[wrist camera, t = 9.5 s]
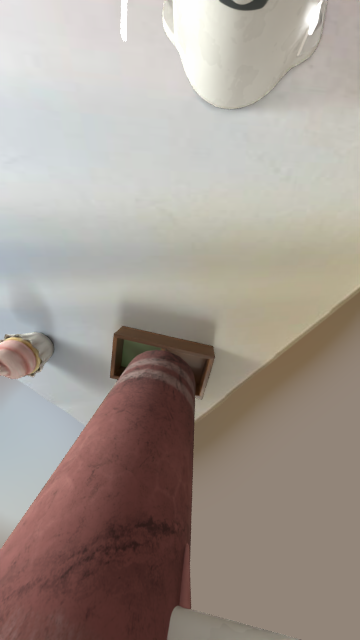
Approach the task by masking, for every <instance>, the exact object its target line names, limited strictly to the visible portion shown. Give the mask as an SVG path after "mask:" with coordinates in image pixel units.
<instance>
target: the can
mask: <svg viewBox="0 0 360 640" xmlns="http://www.w3.org/2000/svg"><path fill="white" fill-rule="evenodd" d="M194 414H195V378H194V373H193V371H192V370H191V368H190V366H189V365H188V363H186V362H185V361H184V360H183V359H182V358H181V357H179V356H177V355H175V354H173V353H171V352H169V351H162V350H151V351H145V352H143V353H141V354H139V355H137V356H136V357H135V358H134V359H133V360H132V361H131V362H130V363H129V365H128V366H127V368H126V369H125V370H124V372H123V373H122V375H121V376H120V378H119V379H118V381H117V382H116V383H115V385H114V386H113V388H112V389H111V391H110V392H109V393H108V395H107V396H106V398H105V399H104V401H103V402H102V404H101V405H100V406H99V408H98V409H97V411H96V412H95V414H94V415H93V417H92V418H91V419H90V421H89V422H88V424H87V425H86V427H85V428H84V430H83V431H82V432H81V434H80V436H79V437H78V439H77V440H76V441H75V443H74V444H73V445H72V447H71V448H70V450H69V451H68V453H67V454H66V456H65V457H64V458H63V460H62V462H61V463H60V464H59V466H58V467H57V469H56V470H55V472H54V473H53V474H52V476H51V477H50V479H49V480H48V481H47V483H46V484H45V486H44V487H43V489H42V490H41V492H40V493H39V494H38V496H37V497H36V499H35V500H34V502H33V503H32V505H31V506H30V507H29V509H28V510H27V512H26V513H25V515H24V516H23V518H22V519H21V521H20V522H19V523H18V525H17V526H16V528H15V529H14V531H13V532H12V534H11V535H10V536H9V538H8V539H7V541H6V542H5V544H4V545H3V547H2V548H1V549H0V640H167V636H168V630H169V624H170V618H171V614H172V611H173V609H174V608H175V607H176V606H181V607H183V608H186V609H191V591H190V590H191V589H190V541H191V511H192V509H191V508H192V479H193V478H192V477H193V447H194V445H193V444H194Z"/></svg>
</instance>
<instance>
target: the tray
mask: <svg viewBox="0 0 360 640" xmlns="http://www.w3.org/2000/svg"><path fill="white" fill-rule="evenodd" d="M151 350H162V351H169V352H171V353H173V354H175V355H177V356H179V357H181V358H182V359H183V360H184V361H185V362H186V363H188V365H189V366H190V368H191V370H192V371H193V373H194V378H195V398H197V399H202V398H203V395H204V392H205V389H206V385H207V382H208V378H209V375H210V372H211V368H212V365H213V362H214V358H215V355H214V349H213V346H209V345H205V344H200V343H196V342H191V341H187V340H183V339H178V338H174V337H169V336H165V335H161V334H156V333H152V332H147V331H143V330H138V329H134V328H130V327H125V326H122V327H121V328H120V329H119V330H118V331H117V332H115V333H114V337H113V349H112V360H111V372H110V378H113V379H117V380H118V379H119V378H120V376H121V375H122V373H123V372H124V370H125V369H126V368H127V366H128V365H129V363H130V362H131V361H132V360H133V359H134V358H135V357H136V356H137V355H139V354H141V353H143V352H145V351H151Z"/></svg>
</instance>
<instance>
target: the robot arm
mask: <svg viewBox="0 0 360 640" xmlns="http://www.w3.org/2000/svg"><path fill="white" fill-rule="evenodd" d="M327 1H328V0H165V1H164V5H163V10H162V17H163V28H164V31H165V33H166V35H167V36H168V38H169V39H170V40H171V42H172V43H173V44H174V45H175V47H176V48H177V49H178V51H179V54H180V57H181V60H182V63H183V66H184V70H185V73H186V75H187V77H188V80H189V81H190V83H191V85H192V87H193V88H194V90H195V91H196V92H197V93H198V94H199V96H201V97H202V98H203V99H204V100H205V101H207V102H208V103H210V104H212V105H214V106H216V107H219V108H223V109H238V108H243V107H246V106H249V105H251V104H253V103H255V102H257V101H258V100H260V99H261V98H263V97H264V96H265V95H266V94H268V93H269V92H270V91H271V90H272V89H273V88H274V87H275V86H276V84H277V83H278V82H279V81H280V80H281V78H282V77H283V76H284V75H285V74H286V73H287V72H288V71H289V70H290V69H291V68H293V67H295V66H296V65H298V64H300V63H301V62H303V61H305V60H306V59H308V58H309V57H310V56H311V55H312V54H313V53H314V51H315V50H316V48H317V45H318V43H319V41H320V39H321V35H322V31H323V25H324V19H325V13H326V7H327ZM126 17H127V0H121V35H122V38H123V41H126ZM167 640H300V639H296V638H293V637H289V636H286V635H282V634H279V633H275V632H272V631H268V630H264V629H261V628H257V627H253V626H250V625H246V624H243V623H239V622H235V621H232V620H228V619H224V618H221V617H217V616H213V615H210V614H206V613H203V612H199V611H196V610H192V609H186V608H183V607H181V606H176V607H175V608H174V609H173V611H172V614H171V618H170V624H169V630H168V636H167Z"/></svg>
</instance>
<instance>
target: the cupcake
mask: <svg viewBox="0 0 360 640" xmlns="http://www.w3.org/2000/svg"><path fill="white" fill-rule="evenodd" d="M53 352H54V347H53V344H52V342H51V340H50V339H49V338H48V337H47V336H45V335H44V334H41V333H36V332H33V333H28V334H16V335H9V334H6V335H5V337H4V340H0V376H5V377H8V378H11V379H18V378H21V377H25V376H26V375H28V376H31V377H34V376H35V374H36V373H37V372H41V370H42V368H43V366H44V364H45V363H46V362H47V361H48V359H49V358H50V357H51V356H52V354H53Z"/></svg>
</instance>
